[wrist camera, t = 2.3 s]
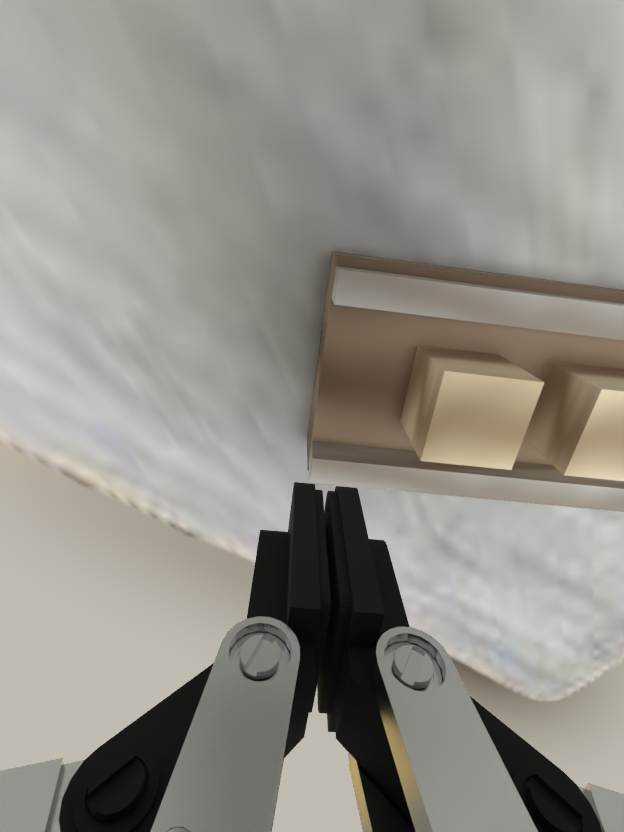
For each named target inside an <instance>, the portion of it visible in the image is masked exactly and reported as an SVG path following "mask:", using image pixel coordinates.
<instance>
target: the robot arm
mask: <svg viewBox="0 0 624 832" xmlns="http://www.w3.org/2000/svg"><path fill="white" fill-rule="evenodd" d="M316 687H317V688H318V710H319V713H327V719H328V731H329V732H336V739H337V740H338V741H339V742H340V743H341V744H342V745H343V747H344V748H345V749H346V750H347V751H348V752H349V767H350V772H351V777H352V781H353V786H354V791H355V796H356V800H357V805H358V810H359V815H360V819H361V824H362V829H363V832H624V794H621V793H618V792H615V791H612V790H608V789H605V788H602V787H599V786H596V785H593V784H589V783H588V785H587V786H586V787H585V789H584V788H581V787H578V786H577V785H576V784H575V783H574V782H573V781H572V780H571V779H570V778H569V777H568V776H567V775H566V774H565V773H564V772H563V771H561V770H560V769H559V768H558V767H557V766H555V765H554V764H553V763H552V762H550V761H549V760H548V759H547V758H546V757H544V756H543V755H542V754H541V753H539V752H538V751H537V750H535V749H534V748H533V747H532V746H531V745H529V744H528V743H527V742H526V741H525V740H523V739H522V738H521V737H520V736H518V735H517V734H516V733H514V732H513V731H512V730H511V729H510V728H508V727H507V726H506V725H505V724H504V723H502V722H501V721H500V720H499V719H497V718H496V717H495V716H494V715H492V714H491V713H490V712H489V711H487V710H486V709H485V708H484V707H483V706H481V705H480V704H479V703H478V702H476V701H475V700H474V699H472V698H471V697H470V696H469V694H468V692H467V690H466V688H465V686H464V684H463V682H462V680H461V678H460V676H459V674H458V672H457V670H456V668H455V666H454V664H453V662H452V660H451V658H450V657H449V655H448V654H447V652H446V651H445V649H444V648H443V646H442V645H441V644H440V643H439V642H437V641H436V640H435V639H434V638H433V637H431V636H430V635H428V634H427V633H425V632H423V631H421V630H418V629H415V628H412V627H409V624H408V620H407V617H406V613H405V609H404V606H403V602H402V599H401V595H400V591H399V588H398V584H397V580H396V577H395V573H394V570H393V566H392V562H391V559H390V555H389V552H388V548H387V545H386V542H385V541H384V540H372V539H368V535H367V530H366V525H365V521H364V516H363V512H362V507H361V503H360V498H359V494H358V490H357V488H350V487H339V486H336V488H335V492H334V491H328V493H327V498H326V504H325V510H324V506H323V493H322V490H315V484H307V483H297V482H294V488H293V496H292V504H291V513H290V521H289V529H288V532H279V531H268V530H260V536H259V542H258V549H257V555H256V562H255V569H254V575H253V582H252V589H251V596H250V602H249V608H248V615H247V619H245V620H243V621H241V622H239V623H237V624H236V625H235V626H233V628H231V629H230V630H229V631H228V632H227V634H226V636H225V637H224V639H223V641H222V643H221V646H220V648H219V651H218V654H217V656H216V659H215V662H214V663H213V664H212V665H211V666H209V667H208V668H207V669H205V670H204V671H203V672H201V673H200V674H198V675H197V676H196V677H194V678H193V679H192V680H190V681H189V682H187V683H186V684H185V685H184V686H182V687H181V688H179V689H178V690H177V691H175V692H174V693H172V694H171V695H170V696H168V697H167V698H166V699H164V700H163V701H162V702H160V703H159V704H157V705H156V706H155V707H153V708H152V709H151V710H150V711H148V712H147V713H145V714H144V715H143V716H141V717H140V718H138V719H137V720H136V721H134V722H133V723H132V724H130V725H129V726H128V727H126V728H125V729H124V730H122V731H121V732H119V733H118V734H117V735H115V736H114V737H113V738H111V739H110V740H108V741H107V742H106V743H104V744H103V745H102V746H100V747H99V748H98V749H97V750H95V751H94V752H93V753H92V754H91V755H90V756H89V757H88V758H87V759H86V760H83V761H78V762H74V763H69V764H64V762H63V758H61V759H56V760H51V761H46V762H42V763H37V764H32V765H27V766H23V767H18V768H13V769H8V770H3V771H0V832H272V826H273V820H274V814H275V808H276V802H277V796H278V790H279V784H280V778H281V772H282V766H283V760H284V758H285V757H286V756H287V754H288V753H289V752H290V751H291V750H292V749H293V748H294V747H295V746H296V745H297V744H298V743H299V742H300V740H301V739H302V738H303V737H304V734H305V729H306V723H307V718H308V713H309V712H312V708H313V702H314V697H315V692H316Z"/></svg>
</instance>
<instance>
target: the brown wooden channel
mask: <svg viewBox="0 0 624 832" xmlns="http://www.w3.org/2000/svg"><path fill="white" fill-rule="evenodd" d="M418 345H423V346H431V347H439V348H448V349H456V350H465V351H473V352H481V353H490V354H498V355H501V356H502V357H504V358H506V359H507V360H509V361H510V362H512V363H514V364H515V365H517V366H519V367H520V368H522V369H524V370H525V371H527V372H528V373H530V374H532V375H533V376H535V377H537V378H538V379H540V376H541V373H542V371H543V368H544V365H545V362H546V360H549V361H557V362H566V363H574V364H583V365H591V366H599V367H608V368H616V369H624V290H618V289H610V288H603V287H595V286H588V285H580V284H572V283H565V282H557V281H550V280H542V279H535V278H527V277H520V276H512V275H505V274H497V273H489V272H482V271H474V270H467V269H459V268H452V267H444V266H437V265H429V264H421V263H414V262H406V261H399V260H391V259H384V258H376V257H369V256H361V255H354V254H346V253H338V252H332V257H331V264H330V272H329V279H328V287H327V294H326V302H325V309H324V317H323V324H322V332H321V339H320V347H319V355H318V362H317V370H316V377H315V385H314V392H313V400H312V407H311V415H310V422H309V430H308V437H307V457H308V471H309V482H312V483H323V484H333V485H344V486H355V487H365V488H376V489H387V490H397V491H408V492H418V493H429V494H440V495H450V496H461V497H472V498H482V499H493V500H504V501H514V502H525V503H535V504H546V505H557V506H567V507H578V508H589V509H599V510H610V511H620V512H624V481H616V480H606V479H596V478H586V477H576V476H566V475H563V474H562V473H561V472H560V471H559V470H558V469H557V468H555V467H554V466H553V465H552V464H551V463H550V462H549V461H548V460H547V459H546V458H545V457H544V456H543V455H541V454H540V453H539V452H538V451H537V450H536V449H535V448H534V447H533V446H532V445H531V444H530V443H529V442H527V441H526V440H525V439H524V438H523V441H522V444H521V446H520V449H519V452H518V454H517V457H516V459H515V462H514V465H513V467H512V470H506V469H496V468H486V467H475V466H465V465H455V464H445V463H435V462H425V461H420V459H419V457H418V455H417V453H416V451H415V449H414V447H413V445H412V443H411V441H410V439H409V437H408V436H407V434H406V432H405V430H404V428H403V426H402V424H401V422H400V420H401V415H402V411H403V407H404V402H405V398H406V394H407V390H408V385H409V381H410V377H411V372H412V368H413V364H414V360H415V355H416V351H417V347H418Z"/></svg>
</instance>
